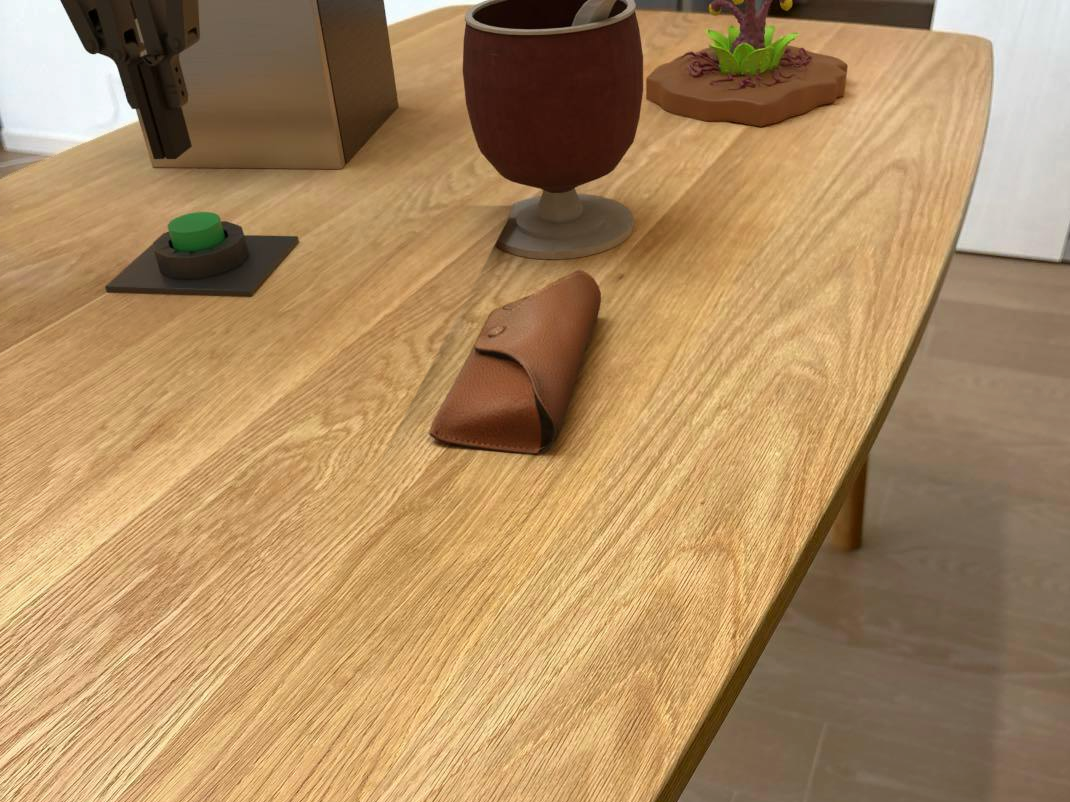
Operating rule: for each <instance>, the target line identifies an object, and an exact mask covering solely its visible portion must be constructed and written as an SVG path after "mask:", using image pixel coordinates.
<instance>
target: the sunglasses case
mask: <svg viewBox="0 0 1070 802" xmlns="http://www.w3.org/2000/svg"><path fill="white" fill-rule="evenodd" d="M601 302H602V292H601V289H600V286H599V284H598V282H597V281H596V279H595V278H594V277H593V276H592V275H591V274H589V273H588V272H586V271H584V270H580V269H578V270H575V271H573V272H571V273H568V274H566V275H564V276H562V277H561V278H560V277H559V278H558V279H556V280H554V281H552V282H550V283H549V284H547V285H545V286H544V287H542V288H540V289H538V290H537V291H536V292H534V293H532V294H530V295H527V296H524V297H522V298H519V299H517V300H514V301H511V302H508V303H506V304H504V305H502V306H498V307H496V308H494V309H493V310H491V311H490V313H489V314H488V316H487V318H486V319H485V321H484V324H483V326H482V328H481V330H480V332H479V334H478V336H477V338H476V341H475V342H474V344H473V346H472V348H471V350H470V352H469V354H468V356H467V358H466V359H465V361H464V363H463V366H462V367H461V369H460V371H459V373H458V375H457V377H456V378H455V379H454V382H453V384H452V386H451V388H450V389H449V391H448V392H447V394H446V396H445V398H444V400H443V402H442V404H441V405H440V407H439V409H438V410H437V412H436V415H435V416H434V418H433V421H432V422H431V426H430V429H429V432H428V434H429V436H430V437H432V438H433V439H435V440H436V441H438V442H441V443H447V444H451V445H456V446H459V447H460V446H461V447H465V448H471V449H477V450H485V451H494V452H502V453H503V452H504V453H512V454H513V453H515V454H524V455H525V454H531V455H539V454H541V453H543V452H546V451H548V450H549V449H550V448H551V447H552V446H553V445H554V443H556V442H557V440H558V438H559V435H560V433H561V429H562V427H563V423H564V420H565V417H566V414H567V410H568V408H569V403H570V400H571V397H572V394H573V391H574V388H575V386H576V382H577V378H578V375H579V372H580V369H581V365H582V362H583V359H584V356H585V353H586V350H587V347H588V344H589V341H590V338H591V335H592V333H593V330H594V326H595V323H596V321H597V319H598V316H599V312H600V310H601V309H600V308H601V304H602V303H601Z"/></svg>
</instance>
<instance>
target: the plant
mask: <svg viewBox="0 0 1070 802" xmlns="http://www.w3.org/2000/svg"><path fill="white" fill-rule="evenodd" d="M731 1H732V2H731ZM731 1H727V0H713V1H711V3H709V6H708V11H709V14H710V15H712V16H714V17H716V16H718V15H719V14H721V12H722V7H724V8H726V9H727V10H729V11H730V13H731V14H732V15H733V16H734V18H735V19H736V21H737V23H738V24H739V28H738V27H736V26H734V25H732V24H730V25H729V26H728V28H727V36H726V35H724V34H723V33H721V32H719V31H716V30H713V29H709V28H707V29H706V30H705V34H706V35H707V36H708V37H709V38H710V39H711V41H712V43H713V44H712V43H710V44H708V47H706V48H703V49H701V50H699V51H696V52H694V51H688V52H685V53H684V54H682V55H680V56H677V57H676V58H674V59H673V60H671V61H670V62H665V63H663V64H661V65H658V66H657V67H655V68H654V69H653V71H652V72H651V73H650V74H648V76H646V80H645V98H646V100H647V101H649V102H651V103H653V104H656V105H658V106H660V107H661V108H662V110H664V111H666V112H668V113H670V114H672V115H676V116H679V117H680V116H681V117H685V118H690V119H692V120H693V119H694V120H698V121H702V122H711V123H713V122H729V123H730V122H731V123H739V124H743V125H749V126H755V127H760V128H761V127H765V126H769V125H773V124H778V123H780V122H782V121H784V120H786V119H788V118H792V117H795V116H800V115H802V114H805V113H807V112H809V111H812V110H813V109H815V108H817V107H819V106H823V105H830V104H833V103H835V102H836V99H838V98H841V97H843V96H844V95H845V91H846V83H847V76H848V67H849V66H848V64H847V63H846V61H844V60H842V59H840V58H838V57H836V56H832V55H827V54H822V53H817V52H813V51H809V50H807V49H805V48H804V47H798V46H794V45H789V44H791V42H792V41H795V39H796V38H798V37H799V35H800V32H799V31H797V32H792V33H788V34H786V35H782V36H781V37H779V38H777V39H775V40H774V41H773V39H774V35H775V32H776V26H775V25H774V24H771V25H769V26H767V23H766V20H767V15H768V13H769V8H770V6H771V4H772V2H773V1H774V0H764V1H763V4H762V5H760V9H759V11H758V13H757V9H756V0H746V1H745V0H731ZM744 1H745V5H746V7H745V9H744V10H745V14H743V12H742V11H741V10H740V9H739V8H738V7H737V6H736V5H741V4H743V3H744ZM779 5H780V8H781V9H782V10H784V11H786V12H788V11H789V10H790V9H792V7H793V0H779ZM756 13H757V14H756ZM766 26H767V27H766Z"/></svg>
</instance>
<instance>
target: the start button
mask: <svg viewBox="0 0 1070 802" xmlns="http://www.w3.org/2000/svg"><path fill="white" fill-rule="evenodd" d="M221 221H222V220H221V217H220V215H219V214H217V213H215V212H210V211H196V212H195V211H194V212H190V213H186V214H182V215H180V216H177V217H175V218H173V219H172V220H171V221H169V222H168V223H167V230H168V231H169V234H170V237H171V241H172V244H173V248H174V249H175V250H178V251H196V250H202V249H207V248H211V247H213V246H216V245H218V244H220V243H222V242H223V241H224V240H225V235H224V231H223V227H222V223H221Z"/></svg>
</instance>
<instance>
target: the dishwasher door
mask: <svg viewBox="0 0 1070 802" xmlns="http://www.w3.org/2000/svg"><path fill="white" fill-rule="evenodd" d="M130 4H131V7H132V11H133V15H134V19H135V22H136V26H137V30H138V34H139V37H140V41H141V42H143V43H144V41H143V38H142V34H141V31H140V28H139V24H138V21H137V17H136V14H135V11H134V7H133V4H132V0H130ZM198 6H199V25H200V39H199V41H198V42H197V43H195V44H194V45H192V46H190V47H189V48H187V49H186V50H184V51H182V52H180V55H179V61H180V65H181V69H182V73H183V76H184V81H185V84H186V88H187V92H188V103H186V104H185V105H183V106H182V111H183V115H184V119H185V122H186V126H187V130H188V133H189V137H190V141H191V145H192V147H191V148H189V149H188V150H187V151H185V152H184V153H183V154H182V155H180V156H179V157H178V158H177V159H166V157H165V158H164V159H154V158H153V154H152V151H151V147H150V144H149V141H148V137H147V134H146V130H145V127H144V123H143V120H142V117H141V113H140V110H139V109H135V112H136V115H137V119H138V122H139V125H140V130H141V133H142V136H143V139H144V143H145V147H146V149H147V153H148V156H149V160H150V164H151V167H152V168H172V169H173V168H174V169H175V168H176V169H178V168H180V169H182V168H184V169H185V168H187V169H190V168H191V169H279V170H281V169H282V170H283V169H284V170H285V169H287V170H288V169H289V170H290V169H291V170H293V169H294V170H295V169H297V170H301V169H302V170H342V169H343V168H344V167H345V166H346V165H345V160H344V154H343V149H342V143H341V137H340V132H339V126H338V120H337V115H336V109H335V103H334V98H333V92H332V86H331V81H330V75H329V69H328V64H327V58H326V52H325V47H324V41H323V35H322V30H321V24H320V19H319V13H318V7H317V2H316V0H198ZM143 55H147V52H146V49H145V50H144V51H143V52H141V53H140V56H141V57H142V56H143Z"/></svg>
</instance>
